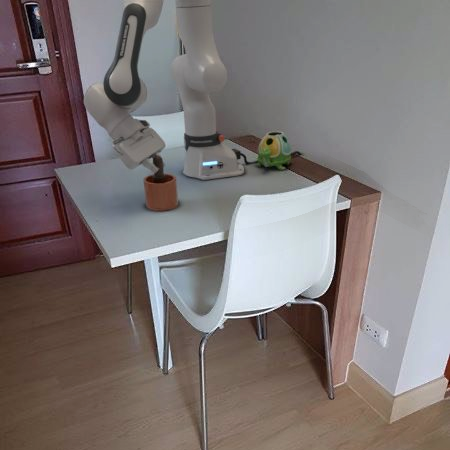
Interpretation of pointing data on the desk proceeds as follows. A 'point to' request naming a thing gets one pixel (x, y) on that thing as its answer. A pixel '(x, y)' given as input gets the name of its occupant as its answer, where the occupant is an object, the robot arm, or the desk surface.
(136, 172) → the desk surface
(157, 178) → the pestle
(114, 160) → the desk surface
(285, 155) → the turtle holder
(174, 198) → the cup
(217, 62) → the robot arm
